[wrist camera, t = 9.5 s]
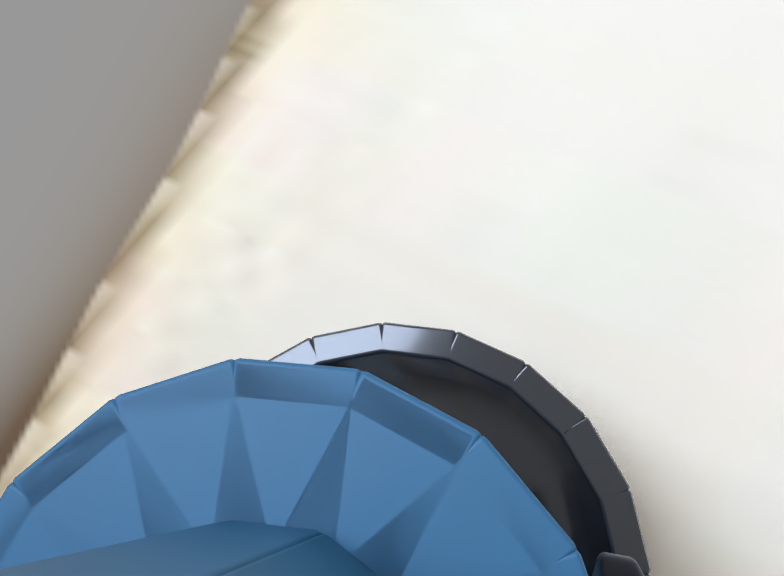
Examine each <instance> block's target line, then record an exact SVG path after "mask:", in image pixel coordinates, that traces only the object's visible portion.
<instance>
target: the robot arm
mask: <svg viewBox="0 0 784 576" xmlns="http://www.w3.org/2000/svg"><path fill="white" fill-rule="evenodd" d="M592 576H644V574H643V572H642V570H641V568H640V567H639V565H638V563H637V562H636V561H635V560H634V559H633V558H631V557H629V556H624V555H618V554H613V553H608V552H602V553H600V554H599V555H598V557H597V560H596V563H595V567H594V571H593V574H592Z"/></svg>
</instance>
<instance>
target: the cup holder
mask: <svg viewBox="0 0 784 576" xmlns="http://www.w3.org/2000/svg"><path fill="white" fill-rule="evenodd" d="M268 361H276V362H287V363H299V364H310V365H321V366H333V367H344V368H355V369H358V370H360V371H362V372H363V371H365V372H369V373H371V374H372V375H374V376H376V377H378V378H380V379H382V380H384V381H386V382H387V383H389V384H391V385H393V386H395V387H397V388H399V389H401V390H402V391H404V392H406V393H408V394H410V395H412V396H414V397H416V398H417V399H419V400H421V401H423V402H425V403H427V404H429V405H431V406H432V407H434V408H436V409H438V410H440V411H442V412H444V413H446V414H447V415H449V416H451V417H453V418H455V419H457V420H459V421H461V422H462V423H464V424H466V425H468V426H470V427H472V428H474V429H476V430H477V431H478V432H479V433H480V434H481V436H484V437H486V438H487V439H488V440H489V442H490V443H491V444H492V445H493V446H494V448H495V449H496V450H497V451H498V452H499V454H500V455H501V456H502V457H503V458H504V460H505V461H506V462H507V463H508V464H509V466H510V467H511V468H512V469H513V470H514V472H515V473H516V474H517V475H518V476H519V478H520V479H521V480H522V481H523V482H524V484H525V485H526V486H527V487H528V488H529V490H530V491H531V492H532V493H533V494H534V496H535V497H536V498H537V499H538V500H539V501H540V503H541V504H542V505H543V506H544V507H545V509H546V510H547V511H548V512H549V513H550V515H551V516H552V517H553V518H554V519H555V521H556V522H557V523H558V524H559V525H560V527H561V528H562V529H563V530H564V531H565V533H566V534H567V535H568V536H569V537H570V539H571V540H572V541H573V542H574V543H575V546H576V550H577V551H578V552H579V553H580V554H581V556H582V559H583V562H584V565H585V568H586V571H587V574H588V576H592V574H593V571H594V567H595V563H596V560H597V557H598V555H599V554H600V553H602V552H608V553H613V554H618V555H624V556H629V557H631V558H633V559H634V560H635V561H636V562H637V563H638V565H639V567H640V568H641V570H642V572H643V574H644V576H650V574H649V573H650V570H651V569H650V565H649V561H648V557H647V553H646V549H645V545H644V541H643V537H642V533H641V529H640V525H639V521H638V517H637V513H636V509H635V505H634V501H633V497H632V493H631V491H630V490H628V489H629V485H628V483H627V482H626V480H625V478H624V477H623V475H622V473H621V472H620V470H619V468H618V467H617V465H616V463H615V462H614V460H613V458H612V457H611V455H610V453H609V452H608V450H607V448H606V447H605V445H604V443H603V442H602V440H601V438H600V437H599V435H598V433H597V432H596V430H595V428H594V427H593V425H592V423H591V422H590V420H589V419H588V418H587V417H585V415H584V413H583V412H582V411H581V410H580V409H578V408H577V407H576V406H575V405H574V404H573V403H572V402H571V401H570V400H568V399H567V398H566V397H565V396H564V395H563V394H562V393H561V392H559V391H558V390H557V389H556V388H555V387H554V386H553V385H552V384H550V383H549V382H548V381H547V380H546V379H545V378H544V377H543V376H542V375H540V374H539V373H538V372H537V371H536V370H535V369H534V368H533V367H531V366H530V365H529V364H525V362H524V361H523V360H521V359H518V358H516V357H514V356H512V355H509V354H507V353H505V352H503V351H501V350H498V349H496V348H494V347H492V346H490V345H487V344H485V343H483V342H481V341H478V340H476V339H474V338H472V337H470V336H467V335H465V334H463V333H461V332H455V331H454V330H448V329H439V328H430V327H421V326H412V325H404V324H395V323H383V325H382V323H376V324H371V325H366V326H361V327H356V328H351V329H346V330H341V331H337V332H332V333H327V334H322V335H317V336H314V337H312V339H311V338H308V339H306V340H304V341H302V342H300V343H299V344H297V345H295V346H293V347H291V348H290V349H288V350H286V351H284V352H282V353H281V354H279V355H277V356H275V357H273V358H272V359H270V360H268Z"/></svg>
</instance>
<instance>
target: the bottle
mask: <svg viewBox="0 0 784 576" xmlns="http://www.w3.org/2000/svg"><path fill="white" fill-rule="evenodd" d="M0 576H588V574H587V571H586V568H585V565H584V562H583V559H582V556H581V554H580V553H579V552H578V551H577V550H576V546H575V543H574V542H573V541H572V540H571V539H570V537H569V536H568V535H567V534H566V533H565V531H564V530H563V529H562V528H561V527H560V525H559V524H558V523H557V522H556V521H555V519H554V518H553V517H552V516H551V515H550V513H549V512H548V511H547V510H546V509H545V507H544V506H543V505H542V504H541V503H540V501H539V500H538V499H537V498H536V497H535V496H534V494H533V493H532V492H531V491H530V490H529V488H528V487H527V486H526V485H525V484H524V482H523V481H522V480H521V479H520V478H519V476H518V475H517V474H516V473H515V472H514V470H513V469H512V468H511V467H510V466H509V464H508V463H507V462H506V461H505V460H504V458H503V457H502V456H501V455H500V454H499V452H498V451H497V450H496V449H495V448H494V446H493V445H492V444H491V443H490V442H489V440H488V439H487V438H486V437H484V436H481V434H480V433H479V432H478V431H477V430H476V429H474V428H472V427H470V426H468V425H466V424H464V423H462V422H461V421H459V420H457V419H455V418H453V417H451V416H449V415H447V414H446V413H444V412H442V411H440V410H438V409H436V408H434V407H432V406H431V405H429V404H427V403H425V402H423V401H421V400H419V399H417V398H416V397H414V396H412V395H410V394H408V393H406V392H404V391H402V390H401V389H399V388H397V387H395V386H393V385H391V384H389V383H387V382H386V381H384V380H382V379H380V378H378V377H376V376H374V375H372V374H371V373H369V372H365V371H363V372H362V371H360V370H358V369H355V368H344V367H333V366H321V365H310V364H299V363H287V362H276V361H265V360H253V359H242V358H240V359H236V360H227V361H224V362H220V363H217V364H214V365H211V366H208V367H205V368H202V369H199V370H196V371H192V372H189V373H186V374H183V375H180V376H177V377H174V378H171V379H168V380H165V381H161V382H158V383H155V384H152V385H149V386H146V387H143V388H140V389H137V390H133V391H130V392H127V393H124V394H121V395H119V396H117V397H116V398H115V399H112V400H110V401H108V402H107V403H106V404H105V405H103V406H102V407H101V408H100V409H99V410H97V411H96V412H95V413H94V414H92V415H91V416H90V417H89V418H88V419H86V420H85V421H84V422H83V423H81V424H80V425H79V426H78V427H77V428H75V429H74V430H73V431H72V432H70V433H69V434H68V435H67V436H66V437H64V438H63V439H62V440H61V441H60V442H58V443H57V444H56V445H55V446H53V447H52V448H51V449H50V450H49V451H47V452H46V453H45V454H44V455H42V456H41V457H40V458H39V459H38V460H36V461H35V462H34V463H33V464H31V465H30V466H29V467H28V468H27V469H25V470H24V471H23V472H22V473H20V474H19V475H18V476H17V477H16V478H15V479H14V480H13V482H12V483H11V484H10V485H9V486H8V487H7V488H6V490H5V492H4V493H3V495H2V497H1V498H0Z"/></svg>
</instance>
